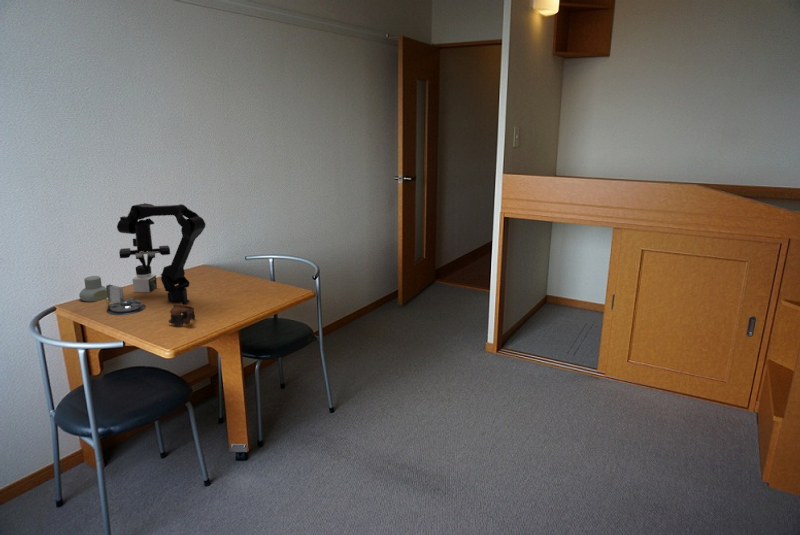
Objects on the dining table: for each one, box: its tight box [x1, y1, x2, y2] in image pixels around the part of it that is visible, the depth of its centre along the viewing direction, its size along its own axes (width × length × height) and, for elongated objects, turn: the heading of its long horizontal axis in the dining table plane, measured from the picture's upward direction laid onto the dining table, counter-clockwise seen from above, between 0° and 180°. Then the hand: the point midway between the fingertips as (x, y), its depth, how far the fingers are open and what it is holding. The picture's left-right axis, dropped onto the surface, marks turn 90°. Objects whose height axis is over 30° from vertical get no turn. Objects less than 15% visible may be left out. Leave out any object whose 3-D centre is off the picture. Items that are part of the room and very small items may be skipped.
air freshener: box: [79, 275, 108, 303], centre depth 229 cm, size 11×8×10 cm
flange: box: [104, 297, 147, 316], centre depth 217 cm, size 14×14×6 cm
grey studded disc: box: [105, 284, 143, 313], centre depth 217 cm, size 14×11×8 cm
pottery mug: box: [168, 304, 196, 328], centre depth 207 cm, size 12×10×8 cm
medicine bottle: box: [132, 264, 158, 293], centre depth 241 cm, size 7×7×12 cm
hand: (147, 271), depth 230 cm, fingers closed
